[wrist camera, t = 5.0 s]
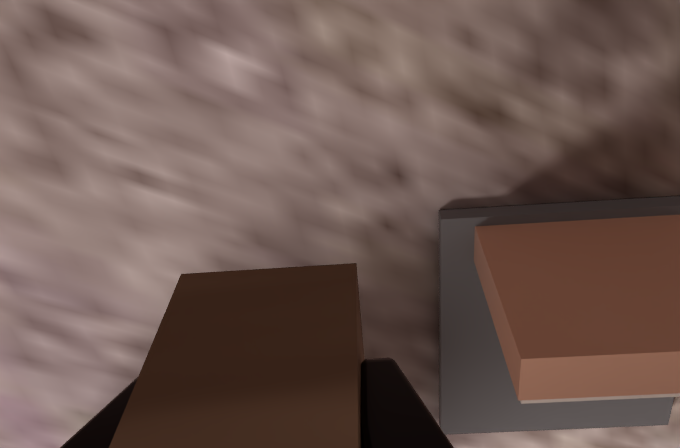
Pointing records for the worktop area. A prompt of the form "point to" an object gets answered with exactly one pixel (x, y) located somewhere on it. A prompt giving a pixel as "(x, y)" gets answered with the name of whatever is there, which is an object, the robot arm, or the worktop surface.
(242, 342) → the walnut turner
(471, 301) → the slate mat
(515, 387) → the glazed tile
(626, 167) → the worktop surface
